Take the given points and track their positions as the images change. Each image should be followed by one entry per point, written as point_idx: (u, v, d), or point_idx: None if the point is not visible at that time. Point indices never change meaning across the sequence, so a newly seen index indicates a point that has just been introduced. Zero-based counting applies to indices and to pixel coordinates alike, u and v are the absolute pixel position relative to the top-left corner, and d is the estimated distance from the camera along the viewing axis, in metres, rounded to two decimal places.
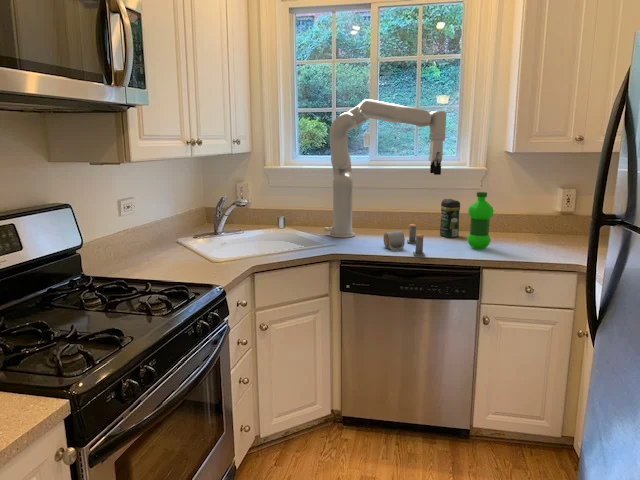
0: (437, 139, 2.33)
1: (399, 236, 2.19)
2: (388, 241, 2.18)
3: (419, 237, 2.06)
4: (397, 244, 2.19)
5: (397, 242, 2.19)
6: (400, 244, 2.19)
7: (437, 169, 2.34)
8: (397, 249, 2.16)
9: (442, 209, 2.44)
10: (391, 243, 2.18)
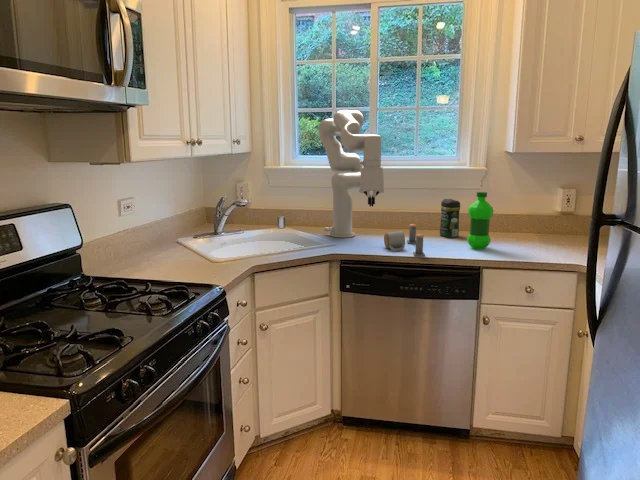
0: (380, 165, 2.14)
1: (400, 236, 2.18)
2: (388, 241, 2.18)
3: (419, 237, 2.06)
4: (397, 244, 2.18)
5: (397, 242, 2.18)
6: (400, 244, 2.18)
7: (374, 200, 2.17)
8: (397, 249, 2.15)
9: (442, 209, 2.44)
10: (391, 243, 2.18)
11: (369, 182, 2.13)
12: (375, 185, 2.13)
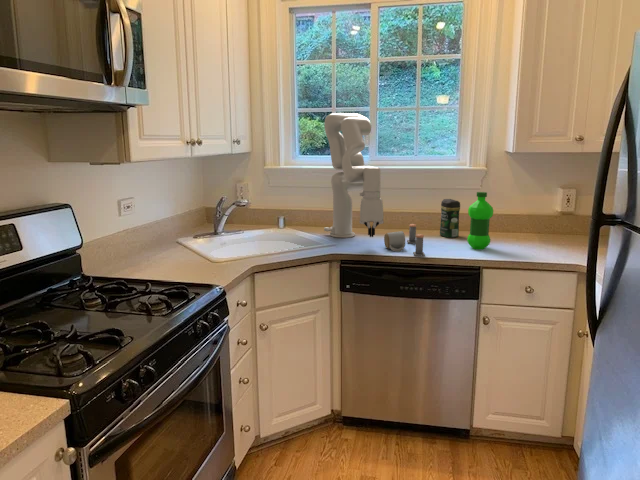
0: None
1: (400, 236, 2.18)
2: (389, 242, 2.17)
3: (419, 237, 2.06)
4: (398, 245, 2.18)
5: (398, 243, 2.17)
6: (401, 245, 2.18)
7: (374, 231, 2.20)
8: (398, 250, 2.15)
9: (442, 209, 2.44)
10: (392, 244, 2.17)
11: (369, 213, 2.16)
12: (375, 216, 2.16)
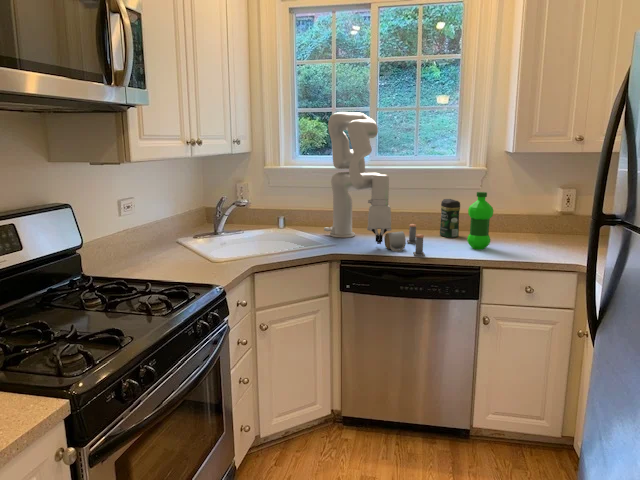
0: None
1: (400, 237, 2.17)
2: (389, 242, 2.17)
3: (419, 237, 2.06)
4: (398, 245, 2.17)
5: (398, 243, 2.17)
6: (401, 245, 2.18)
7: None
8: (398, 250, 2.15)
9: (442, 209, 2.44)
10: (392, 244, 2.17)
11: (377, 221, 2.17)
12: (383, 224, 2.17)
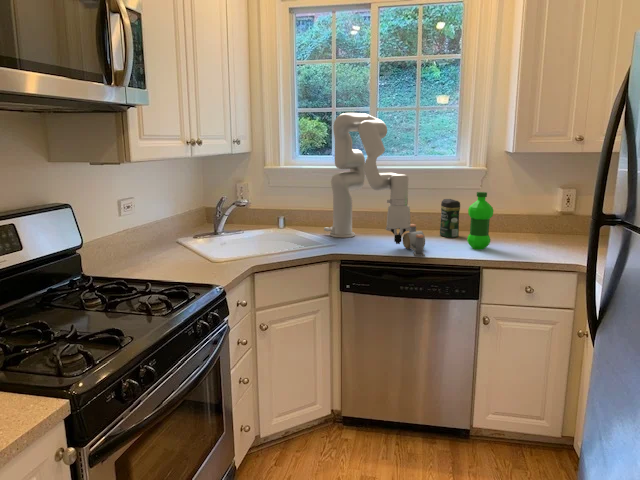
0: (407, 204, 2.16)
1: None
2: (409, 242, 2.16)
3: (419, 237, 2.06)
4: None
5: None
6: None
7: None
8: None
9: (442, 209, 2.44)
10: (412, 244, 2.17)
11: (396, 221, 2.16)
12: (402, 223, 2.16)
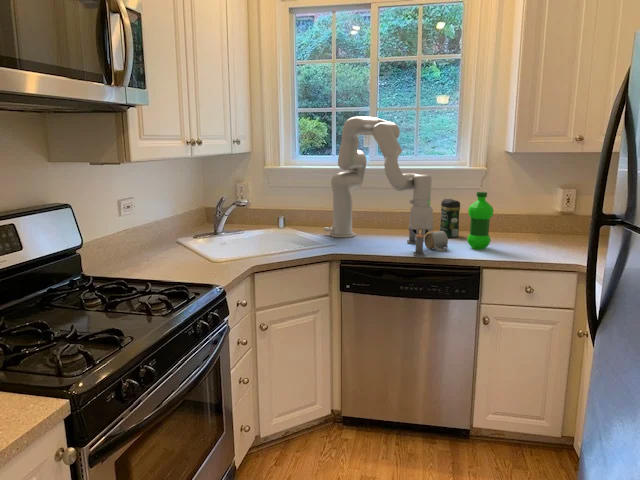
0: None
1: (443, 236, 2.18)
2: (433, 242, 2.16)
3: (419, 237, 2.06)
4: (441, 244, 2.18)
5: (441, 242, 2.17)
6: (444, 244, 2.18)
7: (423, 238, 2.20)
8: (444, 249, 2.15)
9: (442, 209, 2.44)
10: (436, 244, 2.17)
11: (419, 221, 2.16)
12: (425, 224, 2.16)
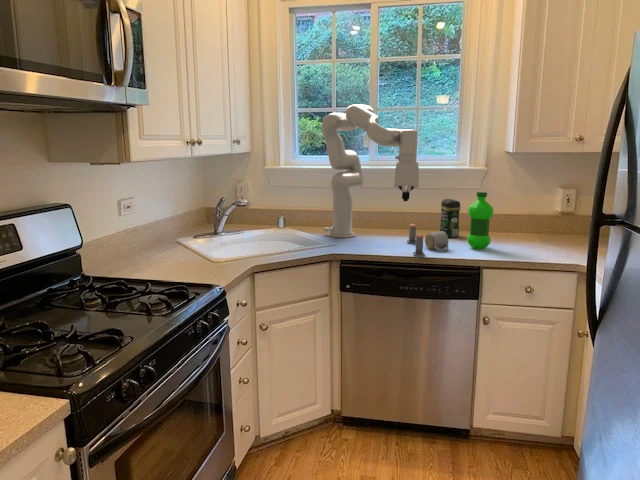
0: None
1: (443, 236, 2.17)
2: (434, 242, 2.16)
3: (419, 237, 2.06)
4: (442, 245, 2.17)
5: (442, 243, 2.17)
6: (444, 245, 2.18)
7: None
8: (444, 250, 2.14)
9: (442, 209, 2.44)
10: (436, 244, 2.16)
11: (404, 177, 2.13)
12: (410, 180, 2.13)
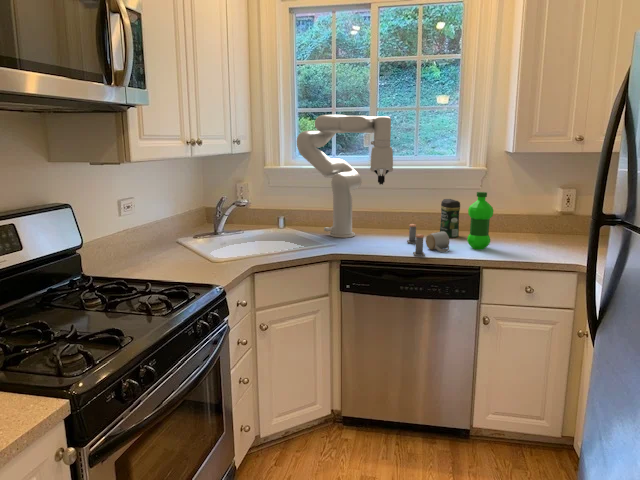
0: None
1: (444, 237, 2.17)
2: (435, 242, 2.15)
3: (419, 237, 2.06)
4: (442, 245, 2.17)
5: (443, 243, 2.16)
6: (445, 245, 2.17)
7: None
8: (445, 250, 2.14)
9: (442, 209, 2.44)
10: (437, 244, 2.16)
11: (379, 161, 2.26)
12: (385, 164, 2.26)
